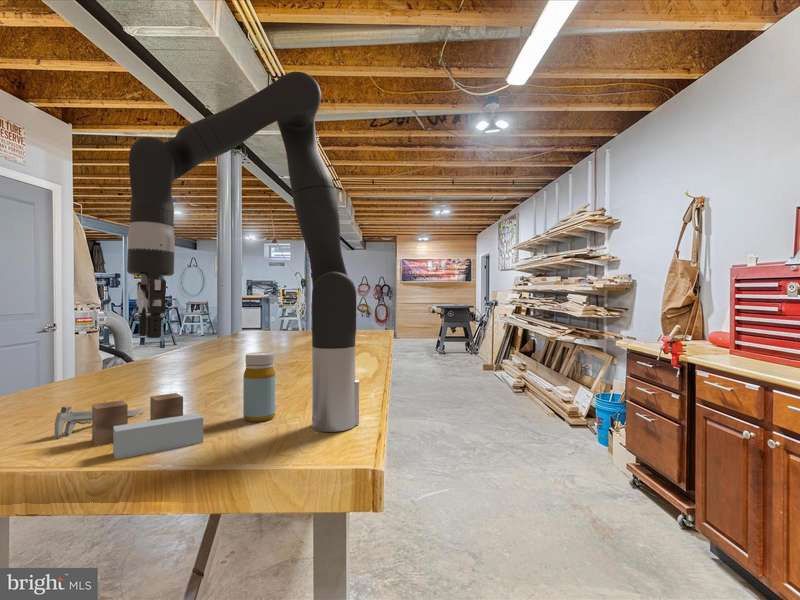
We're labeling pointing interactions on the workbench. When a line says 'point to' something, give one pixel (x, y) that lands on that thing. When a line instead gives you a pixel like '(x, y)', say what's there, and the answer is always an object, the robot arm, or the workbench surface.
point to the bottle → (259, 387)
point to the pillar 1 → (107, 420)
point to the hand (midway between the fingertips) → (149, 336)
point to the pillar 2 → (166, 406)
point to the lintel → (156, 435)
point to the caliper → (77, 419)
